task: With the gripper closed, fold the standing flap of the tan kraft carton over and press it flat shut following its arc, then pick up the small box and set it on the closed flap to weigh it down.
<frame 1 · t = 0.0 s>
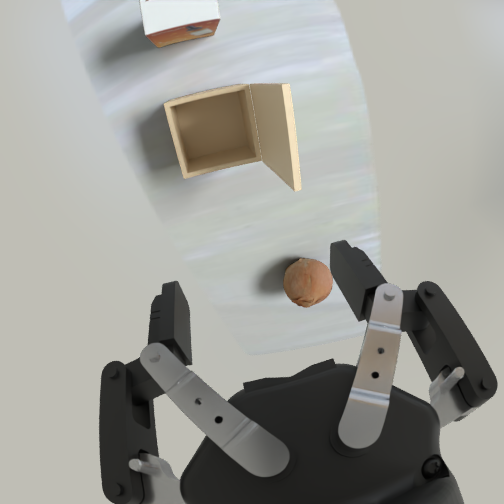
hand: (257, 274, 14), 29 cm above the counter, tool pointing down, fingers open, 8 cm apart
small box: (183, 25, 25), on the counter
lid: (273, 129, 26), point 12 cm above the counter, hinge at 95.0°
carton: (211, 123, 35), on the counter
onion: (300, 267, 55), on the counter
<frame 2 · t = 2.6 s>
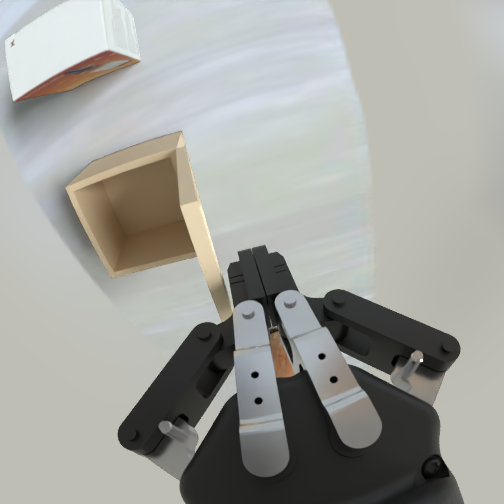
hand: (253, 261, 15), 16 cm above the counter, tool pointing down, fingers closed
small box: (100, 51, 17), on the counter
lid: (205, 239, 17), point 12 cm above the counter, hinge at 95.0°, touching gripper
carton: (148, 188, 26), on the counter
onion: (278, 335, 46), on the counter
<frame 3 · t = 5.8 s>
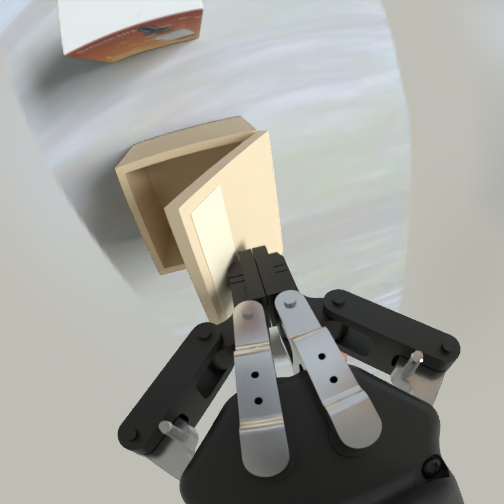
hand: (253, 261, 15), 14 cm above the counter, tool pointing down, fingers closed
small box: (151, 24, 15), on the counter
lid: (246, 237, 16), point 12 cm above the counter, hinge at 57.2°, touching gripper
carton: (198, 176, 25), on the counter
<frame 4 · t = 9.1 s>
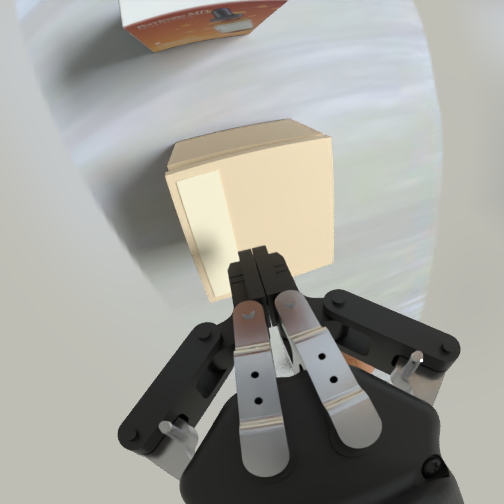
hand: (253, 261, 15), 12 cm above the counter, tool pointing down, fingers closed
small box: (197, 14, 15), on the counter
lid: (264, 224, 18), point 8 cm above the counter, hinge at 5.2°
carton: (243, 180, 24), on the counter
onion: (338, 339, 43), on the counter
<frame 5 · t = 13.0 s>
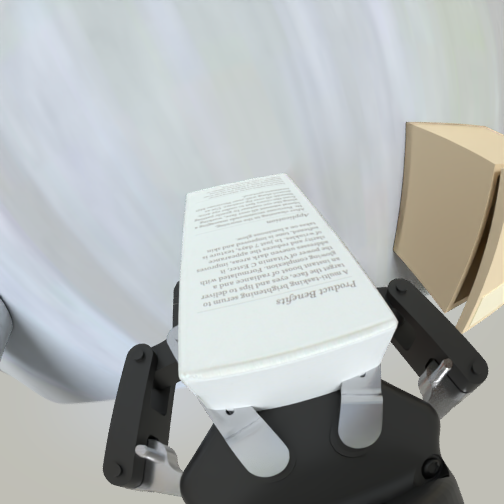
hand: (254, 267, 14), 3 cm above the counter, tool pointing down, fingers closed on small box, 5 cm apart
small box: (246, 238, 16), on the counter, touching gripper
carton: (446, 184, 16), on the counter
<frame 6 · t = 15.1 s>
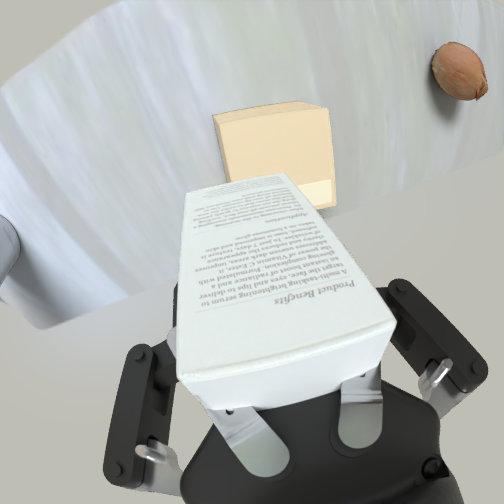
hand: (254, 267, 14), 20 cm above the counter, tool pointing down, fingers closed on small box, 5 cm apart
small box: (245, 237, 16), point 18 cm above the counter, touching gripper
lid: (283, 166, 24), point 8 cm above the counter, hinge at 5.2°
carton: (262, 146, 31), on the counter
onion: (438, 67, 26), on the counter
when the fingers open (12 cm above the counter, at t = 17.4 s): small box stays where it is, resting on lid.
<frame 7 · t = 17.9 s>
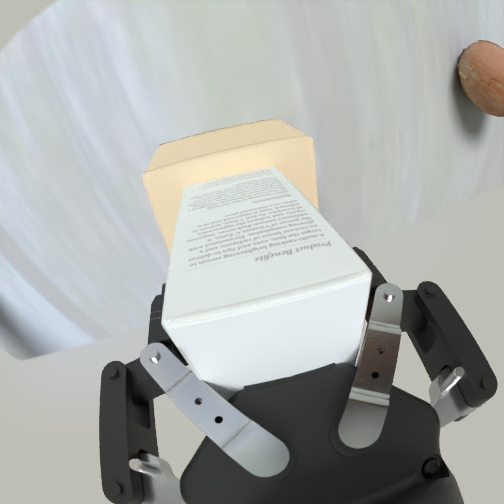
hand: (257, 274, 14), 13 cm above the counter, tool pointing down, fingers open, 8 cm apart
small box: (241, 230, 17), point 8 cm above the counter, touching lid
lid: (243, 227, 17), point 8 cm above the counter, hinge at 3.0°, touching small box
carton: (229, 182, 24), on the counter
onion: (465, 71, 19), on the counter
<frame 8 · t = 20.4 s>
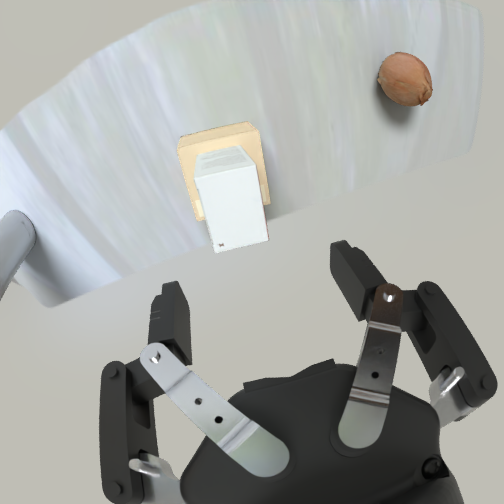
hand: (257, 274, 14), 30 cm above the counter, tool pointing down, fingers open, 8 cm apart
small box: (224, 177, 33), point 8 cm above the counter, touching lid
lid: (225, 176, 33), point 8 cm above the counter, hinge at 3.0°, touching small box
carton: (220, 158, 39), on the counter
onion: (389, 76, 34), on the counter
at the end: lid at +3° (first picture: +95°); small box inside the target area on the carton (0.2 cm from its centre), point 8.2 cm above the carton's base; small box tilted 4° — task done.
